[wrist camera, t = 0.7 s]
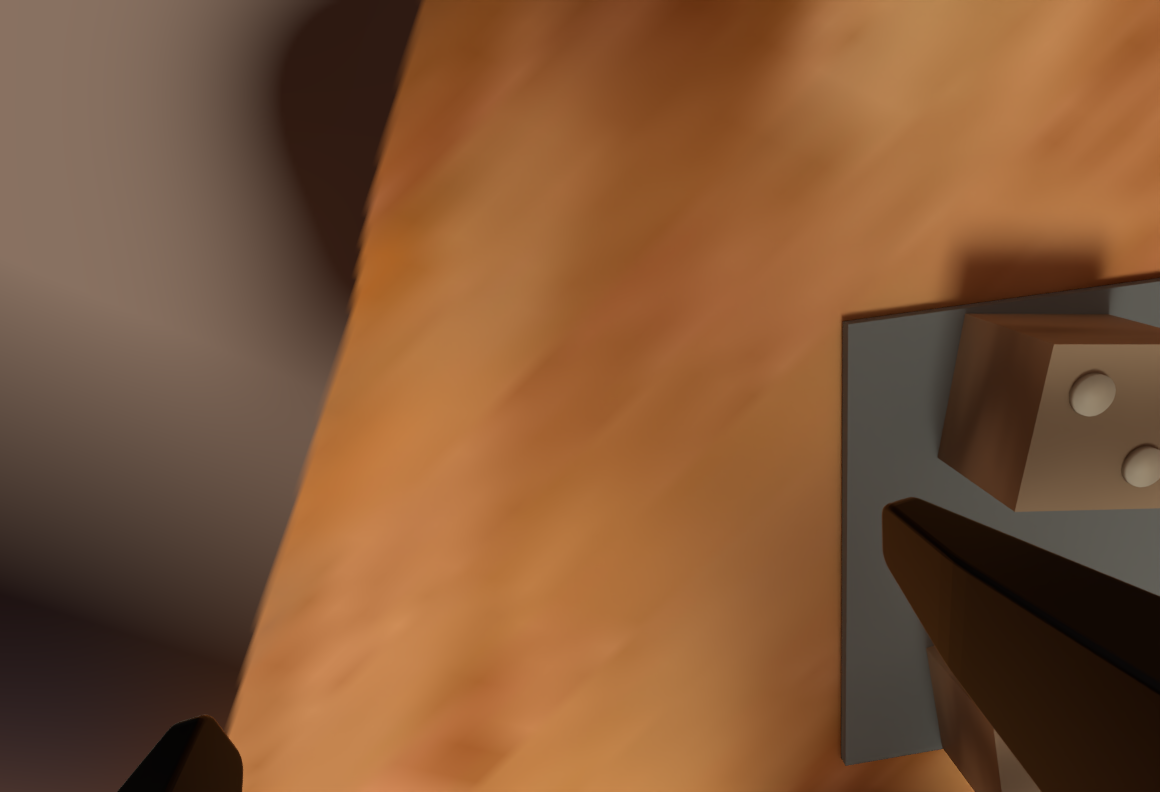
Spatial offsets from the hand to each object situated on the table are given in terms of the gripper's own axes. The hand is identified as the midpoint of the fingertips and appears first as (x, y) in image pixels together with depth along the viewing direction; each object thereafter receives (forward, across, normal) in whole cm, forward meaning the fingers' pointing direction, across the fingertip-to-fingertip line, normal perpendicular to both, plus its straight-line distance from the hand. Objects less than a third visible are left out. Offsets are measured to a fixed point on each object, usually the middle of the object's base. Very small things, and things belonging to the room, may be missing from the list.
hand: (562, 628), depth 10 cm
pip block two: (+12, -16, +8) cm, 22 cm away
